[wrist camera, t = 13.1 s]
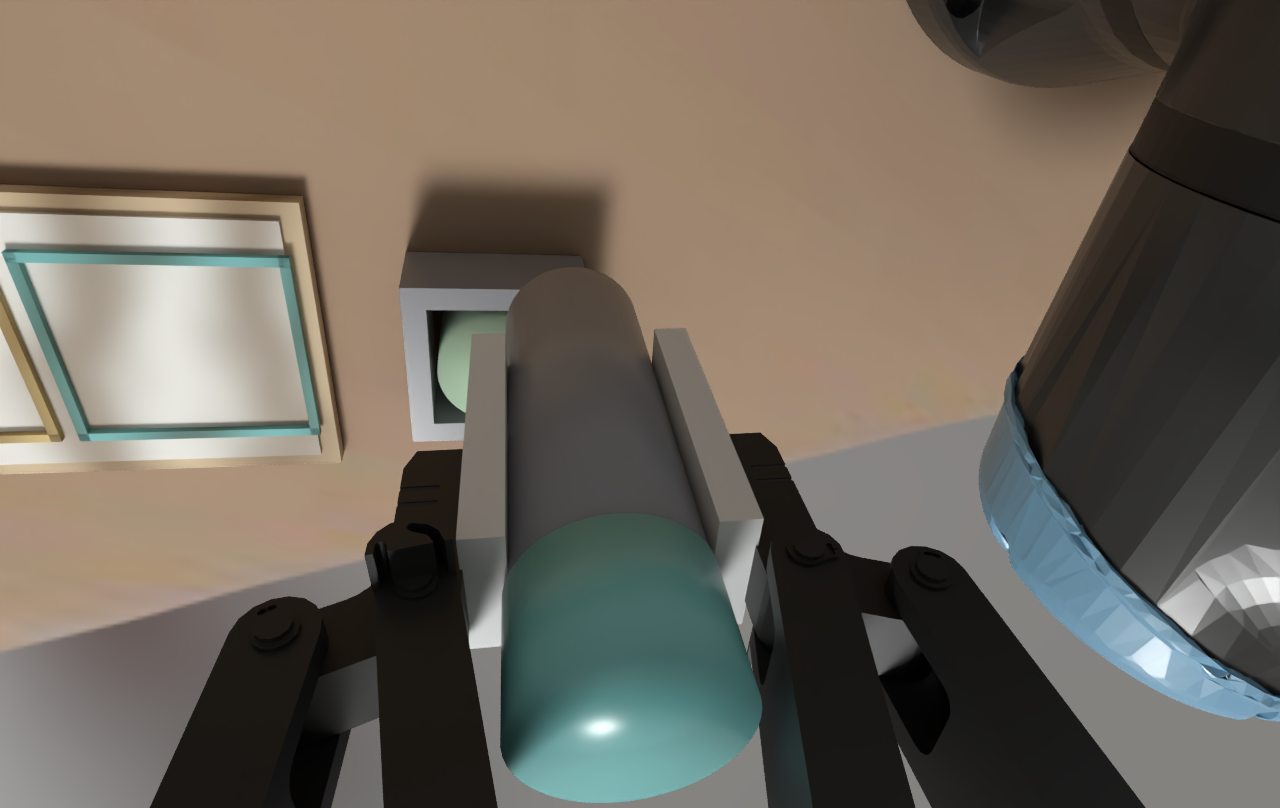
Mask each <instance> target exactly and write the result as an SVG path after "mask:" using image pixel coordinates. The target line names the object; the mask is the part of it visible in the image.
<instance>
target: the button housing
mask: <svg viewBox="0 0 1280 808" xmlns="http://www.w3.org/2000/svg"><path fill="white" fill-rule="evenodd" d="M566 267H581V268H585V267H584V263H583V260H582V256H568V255H527V254H485V253H443V252H406V254H405V259H404V264H403V270H402V275H401V280H400V286H399V293H400V304H401V315H402V326H403V337H404V348H405V359H406V370H407V381H408V392H409V403H410V414H411V425H412V436H413V442H417V441H452V440H464V428H465V415H466V413H465V412H463V411H462V410H460V409H459V408H457V407H456V406H455V405H453V404H452V403H451V402H450V401H449V399H448V398H447V397H446V396H445V394H444V393H443V391H442V389H441V387H440V383H439V381H437V369H436V353H435V337H434V321H433V310H470V311H508V310H509V307H510V305H511V303H512V301H513V299H514V297H515V296H516V295H517V293H518V292H519V291H520V290H521V289H522V288H523V286H525V285H526V284H527V283H528V282H529V281H531V280H532V279H534V278H535V277H537V276H539V275H541V274H543V273H545V272H548V271H551V270H554V269H559V268H566Z"/></svg>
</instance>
